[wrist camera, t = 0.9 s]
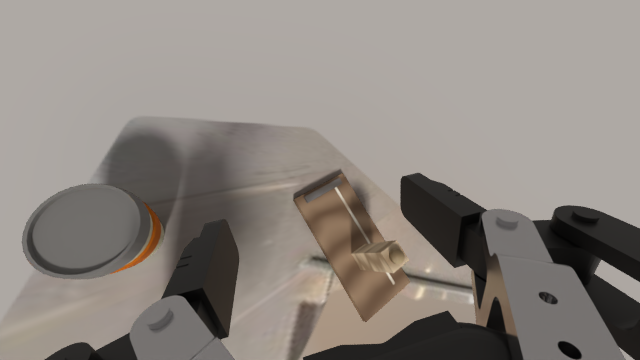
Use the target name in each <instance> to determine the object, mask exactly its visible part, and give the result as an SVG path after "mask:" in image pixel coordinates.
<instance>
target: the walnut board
mask: <svg viewBox="0 0 640 360" xmlns="http://www.w3.org/2000/svg"><path fill="white" fill-rule="evenodd" d="M293 201H294V202H295V204H296V206H297V208H298V209H299V211H300V213H301V214H302V216H303V218H304V220H305V221H306V223H307V225H308V227H309V228H310V230H311V232H312V233H313V235H314V237H315V239H316V240H317V242H318V244H319V246H320V247H321V249H322V251H323V253H324V254H325V256H326V258H327V259H328V261H329V263H330V265H331V266H332V268H333V270H334V272H335V273H336V275H337V277H338V278H339V280H340V282H341V284H342V285H343V287H344V289H345V291H346V292H347V294H348V296H349V298H350V299H351V301H352V303H353V304H354V306H355V308H356V310H357V311H358V313H359V315H360V317H361V318H362V320H363V321H365V322H367V321H368V320H369V319H370V318H371V317H372V316H373V315H374V314H375V313H377V312H378V311H379V310H380V309H381V308H382V307H383V306H384V305H385V304H386V303H387V302H389V301H390V300H391V299H392V298H393V297H394V296H395V295H396V294H397V293H399V292H400V291H401V290H402V289H403V288H404V287H405V286H406V285H407V284H408V283H410V281H409V279H408V278H407V276H406V274H405V273H404V271H403V270H402V268H399V269H398V270H397V271H396V272H395V273H386V272H377V271H368V270H361V269H360V268H359V266H358V264H357V263H356V261H355V259H354V257H353V256H352V253H353V252H354V251H356V250H357V249H358V248H360V247H361V246H363V245H364V244H370V243H379V242H385V240H384V239H383V237H382V236H381V234H380V232H379V231H378V229H377V228H376V226H375V224H374V223H373V221H372V219H371V218H370V216H369V215H368V213H367V211H366V210H365V208H364V207H363V205H362V203H361V202H360V200H359V198H358V197H357V195H356V194H355V192H354V190H353V189H352V187H351V186H350V184H349V182H348V181H347V179H346V177H345V176H344V174H343V173H342V174H340V175H338V176H336V177H334V178H333V179H331V180H329V181H327V182H325V183H323V184H321V185H320V186H318V187H316V188H314V189H312V190H310V191H309V192H307V193H305V194H303V195H301V196H299V197H297V198H296V199H294V200H293Z"/></svg>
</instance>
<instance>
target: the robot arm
mask: <svg viewBox="0 0 640 360" xmlns="http://www.w3.org/2000/svg"><path fill="white" fill-rule="evenodd" d="M401 210H402V213H403V215H404V217H405V218H406V219H407V220H408V221H409V222H410V223H411V224H412V225H413V226H414V227H415V228H416V229H417V230H418V231H419V232H420V233H421V234H422V235H423V236H424V237H425V238H426V240H427V241H428V242H429V243H430V244H431V245H432V246H433V247H434V248H435V249H436V250H437V251H438V252H439V253H440V254H441V255H442V256H443V257H444V258H445V259H446V260H447V261H448V262H449V263H450V264H451V265H452V266H453V267H454V268H456V267H460V266H463V265H466V264H467V265H468V266H469V267H470V268H471V269H472V271H471V279H472V287H473V296H474V305H475V313H476V324H471V323H461V322H459V323H458V322H456V321H455V319H454V318H453V317H452V315H451V314H450V313H449V312H448V311H445V312H442V313H439V314H436V315H433V316H430V317H426V318H423V319H420V320H417V321H414V322H413V323H411V324H410V325H409V326H407V327H406V328H404V329H403V330H402V331H400V332H399V333H397V334H396V335H395V336H393V337H392V338H391V339H389V340H388V341H386V342H385V343H382V344H363V345H340V346H337V347H334V348H330V349H327V350H324V351H322V352H318V353H315V354H312V355H309V356H306V357H303V360H626V359H625V358H624V356H623V354H622V352H621V351H620V349H619V347H620V348H621V349H622V350H624V351H625V352H626V353H627V354H628V355H630V356H631V357H632V358H633V359H635V360H640V303H639V302H637V301H636V300H634V299H632V298H631V297H629V296H627V295H626V294H625V293H623V292H622V291H620V290H618V289H617V288H615V287H614V286H612V285H611V284H609V283H608V282H606V281H604V280H603V279H601V278H600V277H598V276H597V275H595V274H594V273H595V270H596V268H597V267H598V265H599V263H600V261H601V260H603V261H605V262H607V263H608V264H610V265H612V266H613V267H615V268H617V269H619V270H620V271H622V272H624V273H626V274H627V275H629V276H631V277H632V278H634V279H636V280H637V281H639V282H640V228H637V227H635V226H633V225H630V224H628V223H626V222H624V221H621V220H619V219H617V218H614V217H612V216H610V215H607V214H605V213H603V212H600V211H597V210H594V209H590V208H586V207H581V206H561V207H558V208H556V209H555V211H554V214H553V217H552V219H551V220H538V221H531V220H530V219H529V218H527V217H526V216H524V215H522V214H520V213H517V212H513V211H510V210H502V209H493V210H488V211H487V210H486V209H484V208H482V207H481V206H479V205H478V204H476V203H474V202H473V201H471V200H469V199H468V198H466V197H465V196H463V195H460V193H458V192H456V191H453V190H452V189H451V188H450V187H448V186H446V185H445V184H442V183H439V182H436V181H432V180H430V179H428V178H427V177H425V176H423V175H422V174H420V173H415V174H411V175H407V176H403V177H402V178H401ZM238 266H239V253H238V249H237V246H236V243H235V241H234V238H233V235H232V233H231V230H230V228H229V225H228V223H227V221H226V220H225V219H222V220H218V221H214V222H210V223H206V224H205V225H204V228H203V230H202V233H201V235H200V237H198V238H194V239H193V240H192V241H191V242H190V243H189V244H188V246H187V247H186V248H185V249H184V251H183V253H182V256H181V258H180V260H179V262H178V264H177V266H176V269H175V270H174V273H173V275H172V277H171V279H170V281H169V283H168V285H167V288H166V290H165V292H164V294H163V296H162V298H161V300H159V301H157V302H156V303H154V304H152V305H151V306H150V307H148V308H147V309H146V310H145V311H144V312H143V313H142V314H141V315H140V316H139V317H138V318H137V320H136V321H135V322H134V324H133V326H132V328H131V331H130V333H128V334H126V335H125V336H123V337H121V338H119V339H117V340H115V341H113V342H111V343H109V344H108V345H106V346H104V347H102V348H100V349H98V350H96V351H95V350H94V349H93V348H92V347H91V346H90V345H89V344H88V343H84V342H81V343H75V344H72V345H69V346H67V347H65V348H63V349H61V350H59V351H57V352H55V353H54V354H52V355H51V356H49V357H48V358H47V359H45V360H235V359H234V358H233V357H232V355H231V354H230V353H229V351H228V350H227V349H226V348H225V346H224V345H223V344H222V342H221V339H222V338H226V337H228V336H229V329H230V322H231V315H232V308H233V301H234V294H235V287H236V280H237V273H238ZM618 346H619V347H618Z"/></svg>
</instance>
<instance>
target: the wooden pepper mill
mask: <svg viewBox="0 0 640 360" xmlns="http://www.w3.org/2000/svg"><path fill="white" fill-rule="evenodd" d="M352 256H353V257H354V259H355V261H356V263H357V264H358V266H359V268H360V269H361V270H368V271H377V272H386V273H395V272H396V271H397V270H398V269H399V268H401V267H402V266H403V265H404V264H405V263H406V262H408V261H409V259H408V258H407V256H406V254H405V253H404V251H403V250H402V248H401V246H400V245H399V243H398V242H397V240H396V241H387V242H379V243H370V244H364V245H363V246H361V247H360V248H358V249H357V250H356V251H354V252H353V253H352Z"/></svg>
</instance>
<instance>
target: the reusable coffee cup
mask: <svg viewBox="0 0 640 360" xmlns="http://www.w3.org/2000/svg"><path fill="white" fill-rule="evenodd" d="M163 238H164V229H163V226H162V224H161V222H160V220H159V218H158V217H157V215H156V214H155V213H154V212H153V211H152V210H151V209H150V208H149V206H148V205H147V204H146V203H144V202H143V201H141V200H140V198H138V197H137V196H135V195H134V194H133V193H130V192H128V191H126V190H123V189H120V188H117V187H113V186H109V185H105V184H84V185H79V186H75V187H70V188H68V189H65V190H63V191H60V192H58V193H57V194H55V195H53V196H52V197H50V198H48V199H47V200H46V201H45V202H44V203H42V204H41V205H40V206H39V207H38V208H37V209H36V210H35V211H34V212H33V214H32V215H31V217H30V218H29V220H28V221H27V223H26V226H25V229H24V232H23V238H22V245H23V252H24V254H25V256H26V258H27V260H28V261H29V263H30V264H31V265H32V266H33V267H34V268H35V269H37V270H38V271H40V272H42V273H43V274H46V275H49V276H52V277H57V278H63V279H92V278H97V277H102V276H105V275H107V274H112V273H115V272H118V271H121V270H124V269H126V268H129V267H132V266H135V265H136V264H138V263H140V262H142V261H143V260H145V259H147V258H148V257H150V256H151V255H153V254H154V253H155V252H156V251H157V250H158V249H159V247H160V246H161V244H162V241H163Z"/></svg>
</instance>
